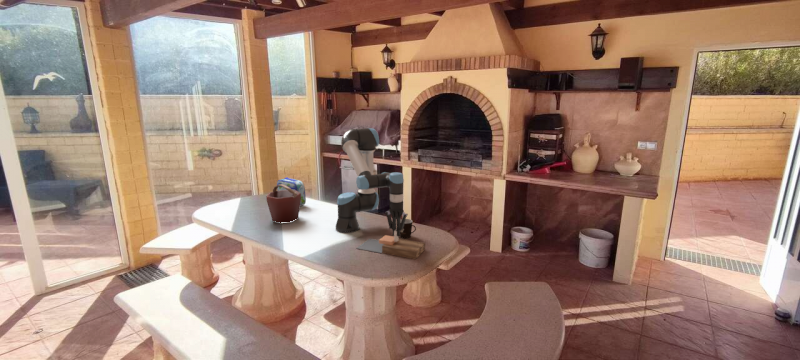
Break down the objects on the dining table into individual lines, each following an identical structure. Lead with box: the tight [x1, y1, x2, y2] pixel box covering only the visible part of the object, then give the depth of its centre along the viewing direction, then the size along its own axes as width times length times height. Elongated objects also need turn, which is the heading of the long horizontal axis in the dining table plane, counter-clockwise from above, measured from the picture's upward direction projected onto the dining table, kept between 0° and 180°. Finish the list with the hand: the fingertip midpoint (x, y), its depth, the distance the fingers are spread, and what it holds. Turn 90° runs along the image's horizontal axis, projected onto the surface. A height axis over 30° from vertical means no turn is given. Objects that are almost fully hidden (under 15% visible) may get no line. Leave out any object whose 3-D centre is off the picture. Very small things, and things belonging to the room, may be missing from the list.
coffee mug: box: [399, 218, 417, 239], centre depth 234 cm, size 12×9×10 cm
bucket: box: [266, 184, 301, 224], centre depth 264 cm, size 24×22×25 cm
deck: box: [381, 238, 426, 260], centre depth 214 cm, size 14×20×4 cm
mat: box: [355, 238, 384, 254], centre depth 222 cm, size 16×16×1 cm
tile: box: [378, 234, 395, 245], centre depth 217 cm, size 8×8×2 cm
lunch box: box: [276, 177, 307, 207], centre depth 301 cm, size 26×11×21 cm, turn 51°
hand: (396, 241), depth 215 cm, fingers closed
